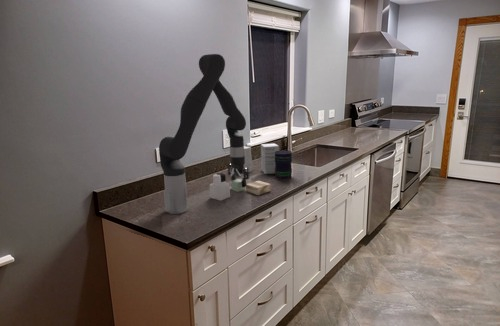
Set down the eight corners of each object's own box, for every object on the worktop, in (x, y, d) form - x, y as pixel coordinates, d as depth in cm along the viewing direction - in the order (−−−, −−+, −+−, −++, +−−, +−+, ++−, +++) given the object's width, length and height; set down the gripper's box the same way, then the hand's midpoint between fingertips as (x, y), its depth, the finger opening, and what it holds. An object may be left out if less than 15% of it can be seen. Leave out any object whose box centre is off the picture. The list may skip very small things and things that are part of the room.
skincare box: (252, 171, 220) (251, 146, 216) (246, 173, 214) (246, 148, 211) (241, 169, 224) (240, 145, 220) (235, 172, 219) (234, 147, 215)
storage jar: (291, 174, 209) (291, 150, 206) (292, 179, 200) (292, 153, 196) (275, 174, 210) (274, 150, 207) (274, 179, 201) (274, 154, 197)
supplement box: (279, 173, 214) (279, 145, 210) (264, 174, 212) (264, 146, 208) (275, 169, 223) (275, 143, 219) (261, 170, 221) (260, 144, 217)
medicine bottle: (220, 194, 179) (219, 171, 176) (230, 196, 174) (229, 173, 172) (210, 198, 174) (208, 174, 171) (220, 201, 169) (219, 177, 166)
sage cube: (237, 192, 182) (237, 182, 180) (231, 189, 185) (231, 180, 184) (245, 189, 185) (244, 180, 184) (239, 187, 189) (238, 178, 187)
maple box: (257, 195, 176) (257, 188, 175) (246, 191, 183) (245, 184, 182) (270, 191, 182) (270, 184, 181) (258, 187, 189) (258, 180, 188)
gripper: (223, 154, 183) (224, 183, 188) (240, 158, 173) (241, 189, 177) (234, 151, 188) (235, 180, 192) (251, 155, 178) (253, 186, 182)
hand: (238, 185), depth 185 cm, fingers open, 8 cm apart
